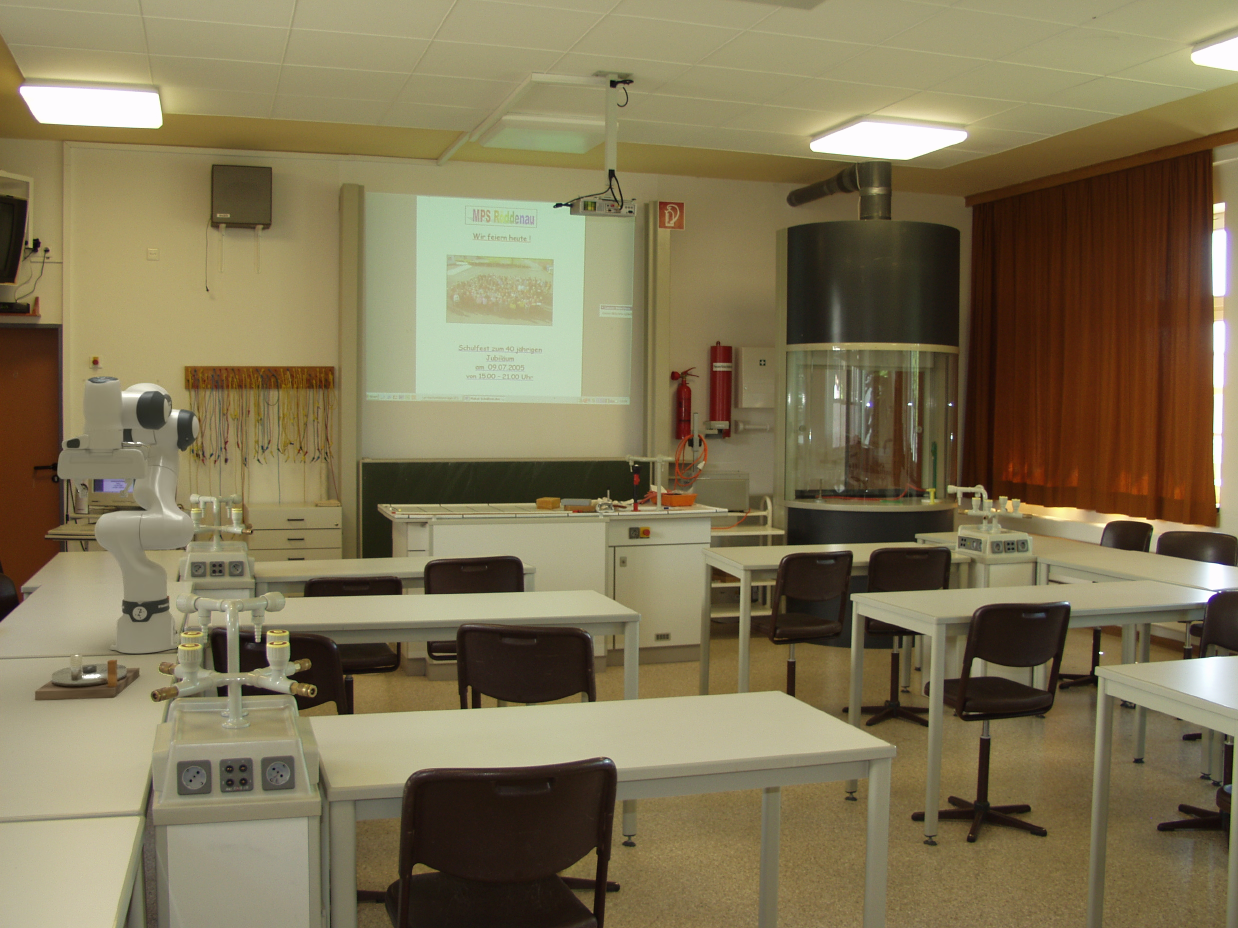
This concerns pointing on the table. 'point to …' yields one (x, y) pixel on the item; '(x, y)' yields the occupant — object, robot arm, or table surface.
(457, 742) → the table surface
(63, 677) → the dial
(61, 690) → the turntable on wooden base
